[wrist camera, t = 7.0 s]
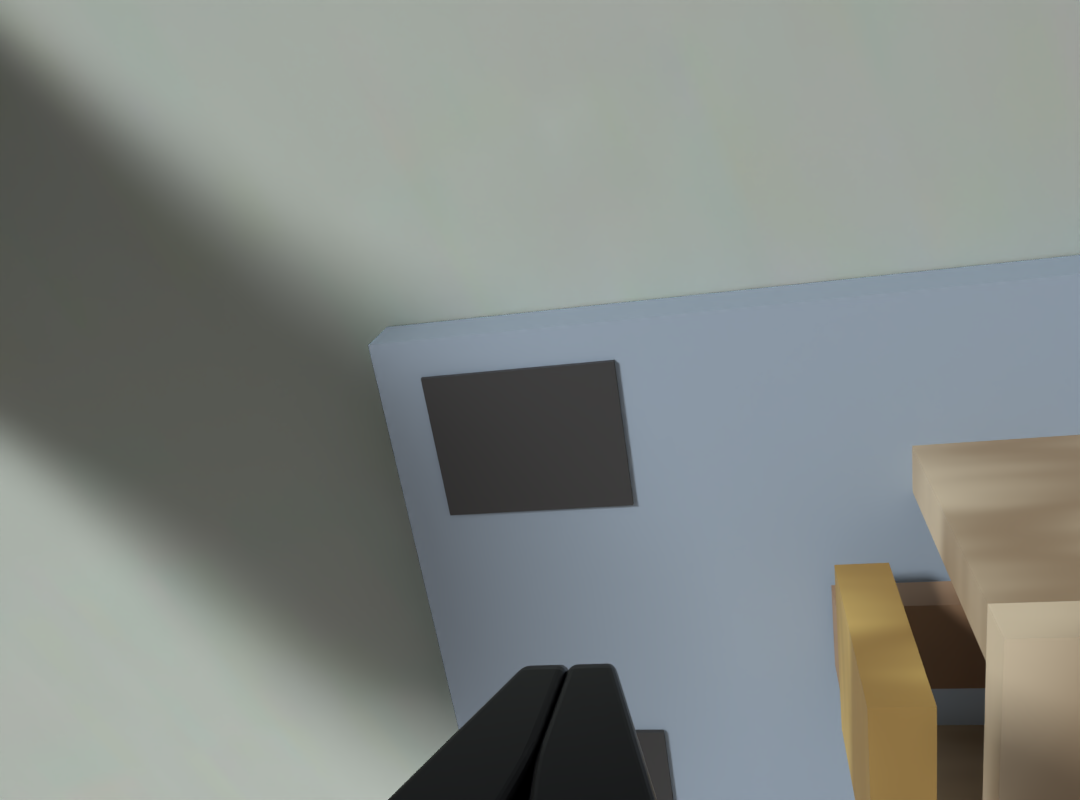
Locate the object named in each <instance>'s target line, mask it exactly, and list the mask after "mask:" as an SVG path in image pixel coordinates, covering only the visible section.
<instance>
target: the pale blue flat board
mask: <svg viewBox="0 0 1080 800" xmlns="http://www.w3.org/2000/svg"><path fill="white" fill-rule="evenodd" d="M368 347H369V351H370V355H371V360H372V364H373V368H374V372H375V376H376V381H377V385H378V389H379V393H380V398H381V402H382V406H383V410H384V415H385V419H386V423H387V427H388V431H389V436H390V440H391V444H392V448H393V453H394V457H395V461H396V465H397V470H398V474H399V478H400V482H401V486H402V491H403V495H404V499H405V503H406V508H407V512H408V516H409V520H410V525H411V529H412V533H413V537H414V541H415V546H416V550H417V554H418V558H419V563H420V567H421V571H422V575H423V580H424V584H425V588H426V592H427V597H428V601H429V605H430V609H431V613H432V618H433V622H434V626H435V630H436V635H437V639H438V643H439V647H440V652H441V656H442V660H443V664H444V668H445V673H446V677H447V681H448V685H449V690H450V694H451V698H452V702H453V707H454V711H455V715H456V719H457V723H458V728H459V729H460V728H461V727H462V726H463V725H464V724H465V723H466V722H467V721H468V720H469V719H470V718H471V717H472V716H473V715H474V714H475V713H476V712H477V711H478V710H479V709H480V708H481V707H482V706H483V705H485V704H486V703H487V702H488V701H489V700H490V699H491V698H492V697H493V696H494V695H495V694H496V693H497V692H498V691H499V690H500V689H501V688H502V687H503V686H504V685H505V684H506V683H507V682H508V681H509V680H510V679H511V678H512V677H513V676H514V675H515V674H516V673H517V672H518V671H519V670H520V669H522V668H523V667H525V666H531V665H564V666H565V667H567V668H568V669H569V668H571V667H572V666H574V665H576V664H604V663H608V664H612V665H614V667H615V668H616V670H617V673H618V676H619V679H620V682H621V685H622V688H623V692H624V695H625V698H626V701H627V705H628V708H629V711H630V714H631V717H632V721H633V724H634V727H635V730H636V734H637V737H638V740H639V743H640V746H641V750H642V753H643V756H644V759H645V763H646V766H647V769H648V772H649V775H650V779H651V782H652V785H653V788H654V792H655V795H656V798H657V800H855V796H854V791H853V786H852V780H851V775H850V770H849V765H848V759H847V754H846V749H845V743H844V738H843V733H842V724H841V701H840V688H839V683H838V677H837V672H836V667H835V654H834V633H833V611H832V590H831V585H835V569H834V565H842V564H867V563H889V564H890V567H891V570H892V573H893V576H894V579H895V582H896V583H907V582H935V581H951V579H950V577H949V575H948V573H947V570H946V568H945V566H944V563H943V561H942V559H941V556H940V554H939V552H938V549H937V547H936V545H935V542H934V540H933V538H932V535H931V533H930V531H929V529H928V526H927V524H926V522H925V519H924V517H923V515H922V512H921V510H920V508H919V505H918V503H917V501H916V498H915V496H914V494H913V489H912V446H915V445H931V444H946V443H961V442H976V441H991V440H1007V439H1022V438H1037V437H1052V436H1067V435H1080V255H1073V256H1064V257H1054V258H1044V259H1035V260H1025V261H1016V262H1006V263H997V264H987V265H977V266H968V267H958V268H949V269H939V270H929V271H920V272H910V273H901V274H891V275H881V276H872V277H862V278H853V279H843V280H833V281H824V282H814V283H805V284H795V285H785V286H776V287H766V288H757V289H747V290H738V291H728V292H718V293H709V294H699V295H690V296H680V297H670V298H661V299H651V300H642V301H632V302H622V303H613V304H603V305H594V306H584V307H574V308H565V309H555V310H546V311H536V312H526V313H517V314H507V315H498V316H488V317H479V318H469V319H459V320H450V321H440V322H431V323H421V324H411V325H402V326H392V327H386V328H385V329H384V330H383V331H382V332H381V333H380V334H379V335H378V336H377V337H376V338H375V339H374V340H373V341H372V342H371V343H370V344H369V345H368ZM931 691H932V694H933V697H934V700H935V703H936V706H937V725H984V723H985V688H969V689H931Z"/></svg>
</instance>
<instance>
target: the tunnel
mask: <svg viewBox="0 0 1080 800" xmlns="http://www.w3.org/2000/svg"><path fill="white" fill-rule="evenodd" d="M912 489H913V494H914V496H915V498H916V501H917V503H918V505H919V508H920V510H921V512H922V515H923V517H924V519H925V522H926V524H927V526H928V529H929V531H930V533H931V535H932V538H933V540H934V542H935V545H936V547H937V549H938V552H939V554H940V556H941V559H942V561H943V563H944V566H945V568H946V570H947V573H948V575H949V577H950V579H951V582H952V584H953V586H954V589H955V591H956V593H957V596H958V598H959V600H960V603H961V605H962V607H963V610H964V612H965V614H966V616H967V619H968V621H969V623H970V626H971V628H972V630H973V633H974V635H975V637H976V640H977V642H978V644H979V647H980V649H981V651H982V653H983V656H984V658H985V660H986V684H985V723H984V725H937V800H1080V435H1067V436H1052V437H1037V438H1022V439H1007V440H991V441H976V442H961V443H946V444H931V445H915V446H912Z"/></svg>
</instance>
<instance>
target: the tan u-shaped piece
mask: <svg viewBox="0 0 1080 800" xmlns="http://www.w3.org/2000/svg"><path fill="white" fill-rule="evenodd" d="M834 569H835V585H831V590H832V611H833V633H834V654H835V667H836V672H837V677H838V683H839V688H840V701H841V724H842V733H843V738H844V743H845V749H846V754H847V759H848V765H849V770H850V775H851V780H852V786H853V791H854V796H855V800H937V706H936V703H935V700H934V697H933V694H932V691H931V689H969V688H985V684H986V660H985V658H984V656H983V653H982V651H981V649H980V647H979V644H978V642H977V640H976V637H975V635H974V633H973V630H972V628H971V626H970V623H969V621H968V619H967V616H966V614H965V612H964V610H963V607H962V605H961V603H960V600H959V598H958V596H957V593H956V591H955V589H954V586H953V584H952V582H951V581H935V582H907V583H896V582H895V579H894V576H893V573H892V570H891V567H890V564H889V563H867V564H842V565H834Z"/></svg>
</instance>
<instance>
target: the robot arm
mask: <svg viewBox="0 0 1080 800" xmlns="http://www.w3.org/2000/svg"><path fill="white" fill-rule="evenodd" d="M388 800H657V798H656V795H655V792H654V788H653V785H652V782H651V779H650V775H649V772H648V769H647V766H646V763H645V759H644V756H643V753H642V750H641V746H640V743H639V740H638V737H637V734H636V730H635V727H634V724H633V721H632V717H631V714H630V711H629V708H628V705H627V701H626V698H625V695H624V692H623V688H622V685H621V682H620V679H619V676H618V673H617V670H616V668H615V667H614V665H612V664H608V663H604V664H576V665H574V666H572V667H571V668H569V669H568V668H567V667H565V666H564V665H531V666H525V667H523V668H522V669H520V670H519V671H518V672H517V673H516V674H515V675H514V676H513V677H512V678H511V679H510V680H509V681H508V682H507V683H506V684H505V685H504V686H503V687H502V688H501V689H500V690H499V691H498V692H497V693H496V694H495V695H494V696H493V697H492V698H491V699H490V700H489V701H488V702H487V703H486V704H485V705H483V706H482V707H481V708H480V709H479V710H478V711H477V712H476V713H475V714H474V715H473V716H472V717H471V718H470V719H469V720H468V721H467V722H466V723H465V724H464V725H463V726H462V727H461V728H460V729H459V730H458V731H457V732H456V733H455V734H454V735H453V736H452V737H451V738H450V739H449V740H448V741H447V742H446V743H445V744H444V745H443V746H442V747H441V748H440V749H439V750H438V751H437V752H436V753H435V754H434V755H433V756H432V757H431V758H430V759H429V760H428V761H427V762H426V763H425V764H424V765H423V766H422V767H421V768H420V769H419V770H418V771H417V772H416V773H415V774H414V775H413V776H412V777H411V778H410V779H409V780H408V781H406V782H405V783H404V784H403V785H402V786H401V787H400V788H399V789H398V790H397V791H396V792H395V793H394V794H393V795H392V796H391V797H390V798H389V799H388Z"/></svg>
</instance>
